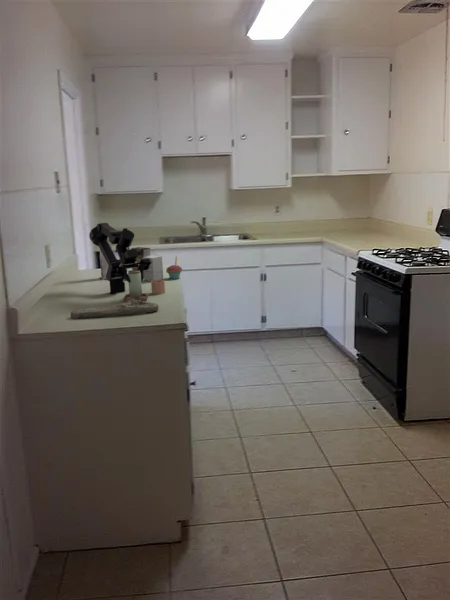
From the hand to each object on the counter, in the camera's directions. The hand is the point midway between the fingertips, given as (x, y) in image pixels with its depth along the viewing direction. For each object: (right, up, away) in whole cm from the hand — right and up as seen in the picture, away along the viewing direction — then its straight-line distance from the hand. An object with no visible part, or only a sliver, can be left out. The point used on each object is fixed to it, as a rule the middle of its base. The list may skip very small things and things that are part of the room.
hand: (136, 281), depth 253 cm
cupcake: (+12, +3, +54) cm, 56 cm away
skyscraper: (-25, +3, +62) cm, 67 cm away
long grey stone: (-5, -14, -22) cm, 27 cm away
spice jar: (0, -6, +3) cm, 7 cm away
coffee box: (-6, +4, +62) cm, 62 cm away
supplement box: (+2, +2, +52) cm, 52 cm away
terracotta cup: (+8, -5, +15) cm, 18 cm away
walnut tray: (0, -8, +3) cm, 9 cm away
